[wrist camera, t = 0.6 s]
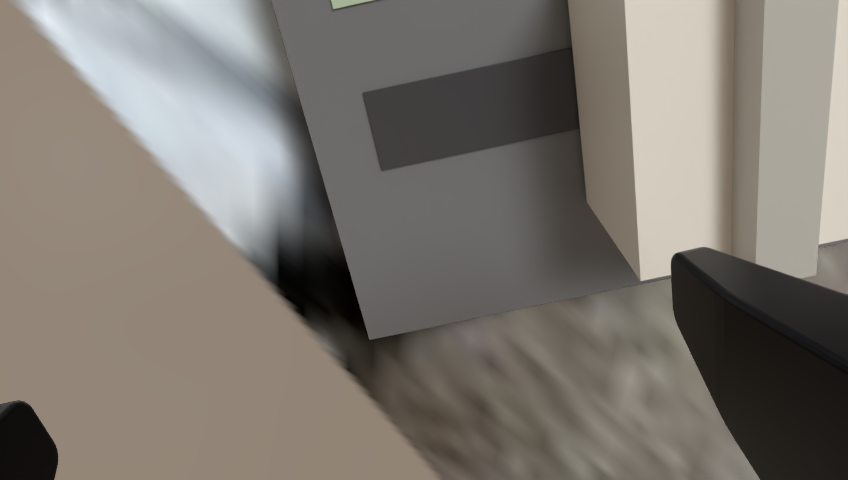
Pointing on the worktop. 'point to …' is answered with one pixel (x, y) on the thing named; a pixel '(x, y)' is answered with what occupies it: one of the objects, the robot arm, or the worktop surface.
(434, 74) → the switch panel
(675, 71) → the switch handle
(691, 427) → the worktop surface
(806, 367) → the robot arm
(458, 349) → the worktop surface
